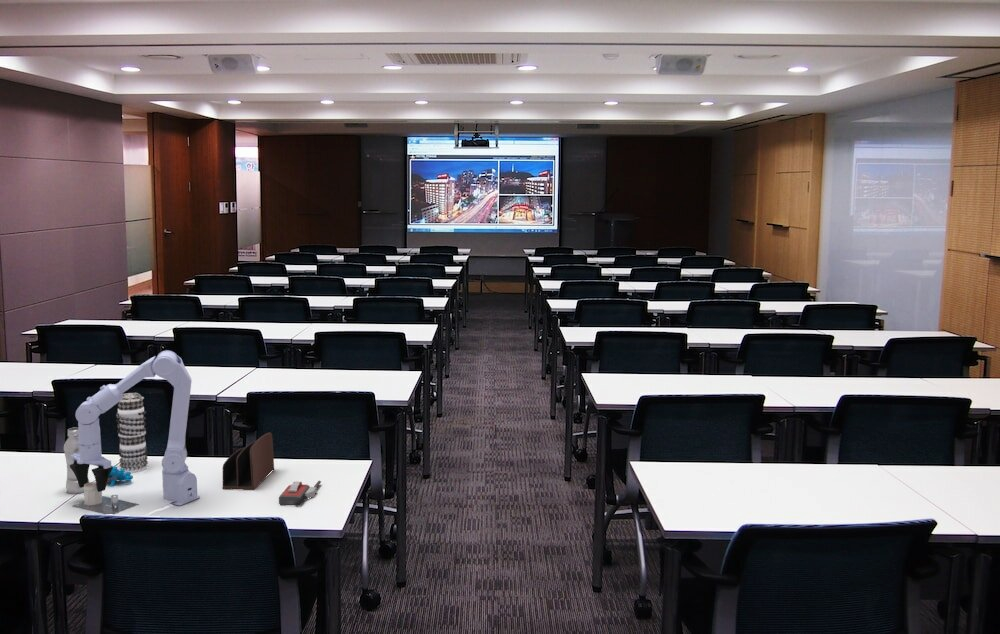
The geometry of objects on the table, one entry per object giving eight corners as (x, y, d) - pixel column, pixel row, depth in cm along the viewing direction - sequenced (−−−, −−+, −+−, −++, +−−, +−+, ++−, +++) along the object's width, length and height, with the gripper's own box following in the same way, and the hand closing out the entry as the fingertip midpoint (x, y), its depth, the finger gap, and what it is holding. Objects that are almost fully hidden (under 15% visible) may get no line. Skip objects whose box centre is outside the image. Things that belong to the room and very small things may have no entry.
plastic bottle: (64, 498, 262) (60, 432, 259) (68, 490, 268) (64, 427, 265) (88, 496, 263) (84, 431, 261) (91, 489, 270) (87, 425, 267)
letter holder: (274, 470, 289) (273, 428, 287) (253, 490, 270) (252, 446, 268) (244, 469, 290) (243, 428, 288) (222, 489, 270) (220, 445, 268)
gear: (139, 478, 275) (121, 463, 268) (133, 495, 272) (114, 480, 264) (109, 480, 278) (90, 465, 270) (103, 497, 274) (83, 482, 267)
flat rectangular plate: (139, 507, 254) (138, 492, 254) (110, 518, 245) (109, 503, 245) (101, 498, 261) (100, 484, 261) (71, 509, 252) (70, 494, 252)
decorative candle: (141, 462, 296) (137, 389, 293) (154, 468, 290) (150, 394, 287) (114, 468, 290) (110, 394, 286) (126, 474, 284) (122, 398, 280)
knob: (94, 498, 258) (93, 480, 258) (105, 501, 256) (104, 482, 256) (81, 503, 254) (80, 484, 254) (92, 506, 252) (91, 486, 252)
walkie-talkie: (306, 508, 255) (323, 485, 275) (306, 494, 255) (322, 472, 274) (276, 508, 256) (295, 485, 275) (276, 493, 255) (295, 471, 275)
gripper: (60, 443, 253) (63, 488, 254) (95, 450, 246) (97, 496, 248) (81, 437, 259) (84, 481, 261) (116, 443, 252) (118, 489, 254)
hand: (92, 488), depth 255 cm, fingers open, 7 cm apart
